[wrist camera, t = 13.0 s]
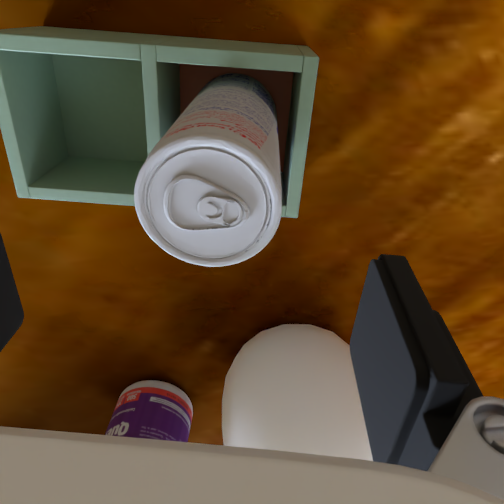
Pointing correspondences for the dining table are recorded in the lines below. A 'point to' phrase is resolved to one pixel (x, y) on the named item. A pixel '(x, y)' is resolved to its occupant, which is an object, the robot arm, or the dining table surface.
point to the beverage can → (215, 176)
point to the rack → (130, 105)
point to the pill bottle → (152, 412)
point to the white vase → (295, 395)
